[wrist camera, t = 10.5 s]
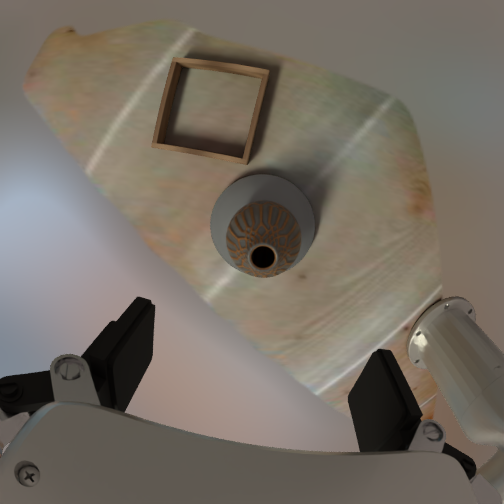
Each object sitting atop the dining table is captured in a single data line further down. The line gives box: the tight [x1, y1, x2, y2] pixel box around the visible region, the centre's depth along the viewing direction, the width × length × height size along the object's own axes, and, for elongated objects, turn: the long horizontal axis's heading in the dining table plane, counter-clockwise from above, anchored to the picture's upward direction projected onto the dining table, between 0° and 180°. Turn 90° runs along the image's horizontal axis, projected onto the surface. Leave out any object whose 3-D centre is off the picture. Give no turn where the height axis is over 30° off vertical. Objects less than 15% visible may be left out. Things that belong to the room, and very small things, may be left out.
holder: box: [151, 57, 270, 165], centre depth 26 cm, size 10×10×2 cm
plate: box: [210, 174, 315, 273], centre depth 31 cm, size 11×11×1 cm
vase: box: [226, 200, 301, 278], centre depth 26 cm, size 7×7×9 cm
